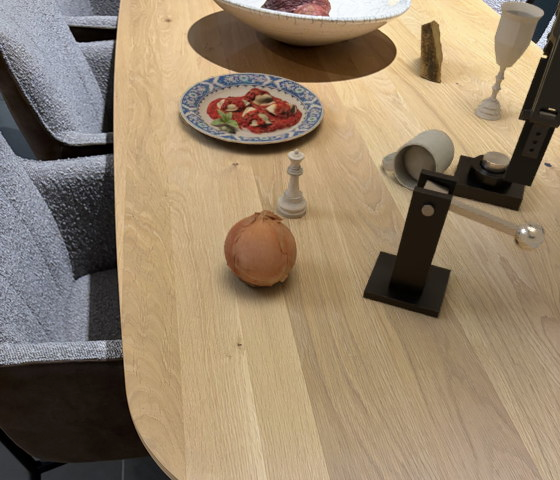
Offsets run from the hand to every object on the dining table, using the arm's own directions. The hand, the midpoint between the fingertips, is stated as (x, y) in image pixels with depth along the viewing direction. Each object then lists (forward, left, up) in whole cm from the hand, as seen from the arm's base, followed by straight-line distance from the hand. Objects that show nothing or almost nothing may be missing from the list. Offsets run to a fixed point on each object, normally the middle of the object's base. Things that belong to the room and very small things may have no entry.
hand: (524, 149), depth 64 cm
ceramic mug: (+13, -26, -22) cm, 36 cm away
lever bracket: (+8, +1, -21) cm, 23 cm away
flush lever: (+2, +1, -10) cm, 10 cm away
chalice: (+4, -54, -22) cm, 58 cm away
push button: (+1, -28, -18) cm, 33 cm away
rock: (+18, -68, -22) cm, 73 cm away
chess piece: (+28, -9, -22) cm, 36 cm away
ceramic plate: (+44, -33, -22) cm, 59 cm away
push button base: (+1, -28, -21) cm, 35 cm away
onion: (+27, +7, -22) cm, 35 cm away
